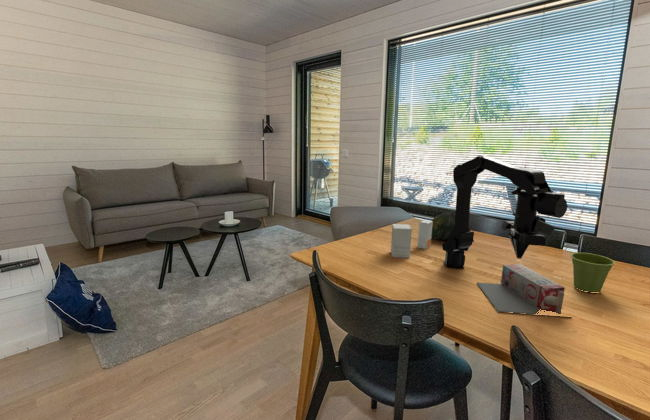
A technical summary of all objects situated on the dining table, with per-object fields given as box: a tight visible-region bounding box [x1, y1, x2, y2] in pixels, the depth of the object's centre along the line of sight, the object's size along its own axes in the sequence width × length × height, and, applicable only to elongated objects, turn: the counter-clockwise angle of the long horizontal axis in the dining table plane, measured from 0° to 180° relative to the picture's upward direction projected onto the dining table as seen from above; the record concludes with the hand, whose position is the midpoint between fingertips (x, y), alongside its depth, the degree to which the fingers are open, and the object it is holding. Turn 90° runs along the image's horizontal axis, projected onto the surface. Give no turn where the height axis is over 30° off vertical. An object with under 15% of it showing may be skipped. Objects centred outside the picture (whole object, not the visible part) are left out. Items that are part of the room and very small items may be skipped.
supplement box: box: [390, 223, 413, 259], centre depth 146 cm, size 7×7×13 cm
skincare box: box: [416, 219, 433, 250], centre depth 157 cm, size 6×4×12 cm
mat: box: [476, 282, 545, 314], centre depth 109 cm, size 20×20×1 cm
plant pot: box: [570, 252, 616, 293], centre depth 116 cm, size 12×12×11 cm
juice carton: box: [500, 263, 566, 314], centre depth 109 cm, size 7×7×22 cm
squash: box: [431, 211, 455, 241], centre depth 170 cm, size 14×15×15 cm
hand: (518, 258), depth 111 cm, fingers closed
